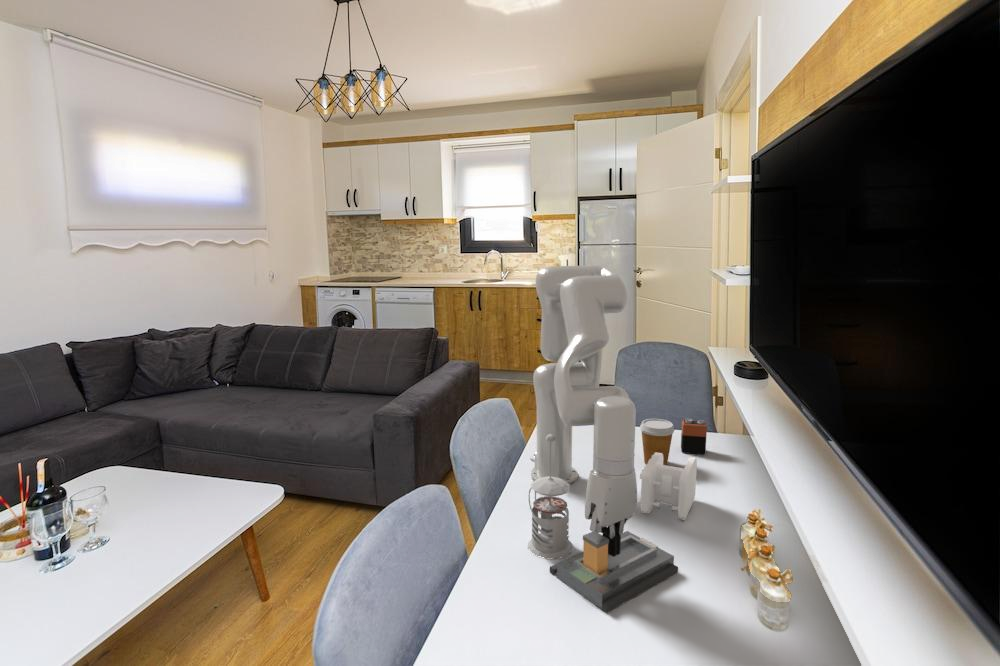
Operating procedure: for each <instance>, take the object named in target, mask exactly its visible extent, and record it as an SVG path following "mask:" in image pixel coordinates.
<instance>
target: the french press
mask: <svg viewBox="0 0 1000 666" xmlns="http://www.w3.org/2000/svg"><path fill="white" fill-rule="evenodd" d="M546 441H549V442H550V476H547V477H542V478H539V479H537V480H533V482H532V483H530V488H529V491H528V504H529V509H530V512H531V517H532V518H531V538H530V539H531V540H529V541H528V542H527V543H528V545H527V549H528V550H529V549H530V551H531V552H532V553H534V554H535V555H534V554H533V555H534V556H536V555H537V556H536V557H538V556H541V557H544V558H543V559H546V558H549V559H548V560H551V559H550V558H557V559H561V558H560V557H562V558H565V557H567V556H569V555H570V554H571V553H572V551H573V550H574V546H573V545H574V544H573V543H572V542H571V540H570V539H569V537H570V536H569V529H570V528H569V527H570V526H569V521H570V518H569V516H570V513H569V512H570V511H569V508H568V503H567V501H566V500H564V499H563V498H560V497H559V496H562V495H565V494H567V493H568V491H570V490H571V489H570V488H571V487H570V486H571V485H570V484H568V483H567V482H566V481H564V480H562V479H560V478H558V477H551V442H552V441H555V437H554V435H552V434H549V435H547V437H546ZM531 490H533V491H534V501H533V503H532V504H533V507H532V506H531V501H530V500H531V499H530V498H531V496H530V494H531ZM537 494H539V495H541V497H538V498H537ZM563 511H564V512H565V513H564V512H563ZM539 514H540V517H539ZM556 514H557V515H556ZM553 515H555V516H553ZM558 515H562V516H558ZM539 532H540V533H539ZM530 551H529V552H530ZM531 552H530V553H531ZM532 553H531V554H532ZM566 555H567V556H566ZM541 557H540V558H541Z"/></svg>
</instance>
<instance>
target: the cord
mask: <svg viewBox="0 0 1000 666" xmlns="http://www.w3.org/2000/svg"><path fill="white" fill-rule="evenodd" d="M549 573H550V574H552V575H553V576H555V575H557V563H555V564H552V565H551V566H549Z"/></svg>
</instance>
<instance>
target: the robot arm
mask: <svg viewBox="0 0 1000 666" xmlns="http://www.w3.org/2000/svg"><path fill="white" fill-rule="evenodd" d="M535 290H536V294H537V297H538V301H539V303H540V307H541V323H540V324H541V326H540V352H541V356H542V357H543V359H544V360H546V361H549V362H550V363H545V364H541V365H539V366H538V367H537V368H536V369H535V370H534V372H533V375H532V376H533V377H532V379H533V380H532V382H533V383H532V384H533V389H534V395H535V404H536V405H535V406H536V451H535V452H534V453H533V455H532V456H530V458H529V459H530V461H531V462H533V463H534V467H533V468H532V469H531V471H530V476H531V479H532V480H533V481H535V480H537V479H539V478H542V477H547V476H550V442H549V441H546V437H547V435H549V434H552V435H554V437H555V441H552V442H551V477H558V478H560V479H562V480H564V481H566V482H567V483H568V484H569V485H570V484H572V483H574V482H575V481H577V480H578V471H577V470H576V468H574V467H572V465H573V464H572V463H573V458H572V457H573V427H584V426H593V454H592V457H593V460H592V470H590V471H589V475H588V479H587V485H586V491H585V501H584V502H585V504H584V518H585V520H590V526H589V530H590V531H591V532H594V533H599V534H602V535H603V536H604V537H606V538H608V539H609V543H608V554H610V555H611V556H613V557H615V556H616V555H619V554H620V545H621V534H622V533H624V530H625V525H626V523H627V521H628V520H630V519H631V518H632V517H633V516H634V514H635V513H636V511H637V507H638V506H637V505H638V483H637V475H636V468H635V455H636V454H635V445H636V443H635V442H636V441H635V440H636V420H637V419H636V418H637V417H636V415H637V414H636V413H637V409H636V404H635V403H634V402H633V401H632V400H631V399H630V396H629V394H628V393H627V391H626V390H625V389H624V388H623V387H621V386H617V385H607V386H605V385H604V386H603V385H602V386H600V384H601V383H600V382H601V381H600V380H601V370H602V369H601V368H602V357H603V349H604V348H605V347H606V345H608V343H609V340H610V339H609V338H610V336H609V331H608V327H607V323H606V319H605V314H619V313H621V312H623V311H624V309H625V308H626V306H627V301H628V294H627V289H626V286H625V283H624V281H623V280H622V278H621V277H620V276H619V275H618V274H617V273H615V272H614V271H613V270H611V269H610V268H608V267H607V266H603V265H559V266H558V265H557V266H556V265H555V266H547V267H543V268H541V269H539V270H538V271H537V274H536V277H535ZM551 362H552V363H551Z"/></svg>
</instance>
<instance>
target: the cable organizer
mask: <svg viewBox="0 0 1000 666" xmlns="http://www.w3.org/2000/svg"><path fill="white" fill-rule="evenodd" d="M697 466H698V460H697V458H696V457H692V456H690V457H688V460H687V461H686V464H685V466H684V468H682V467H676V466H671V465H667V466H666V465H663V454H662V453H657V452H655V453H654V455H652V458H651V459H649V460H648V463H647V464H645V466H644V467H643V469H641V472H640V473H639V479H640V480H641V481H640V482H641V487H640V489H641V491H640V511H641V513H644V514H650V513H651V511H652V510H653V508H654V507H658V510H660V508H661V503H662V504H667V505H670V506H671V512H674V511H677V519H679V520H683V521H686V519H687V516H688V515H689V512H690V510H691V508H692V507H693V506H692V505H693V503H694V500H695V499H696V498H695V497H696V490H697V489H696V487H697V486H696V485H697V471H698V470H697V468H698V467H697Z"/></svg>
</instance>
